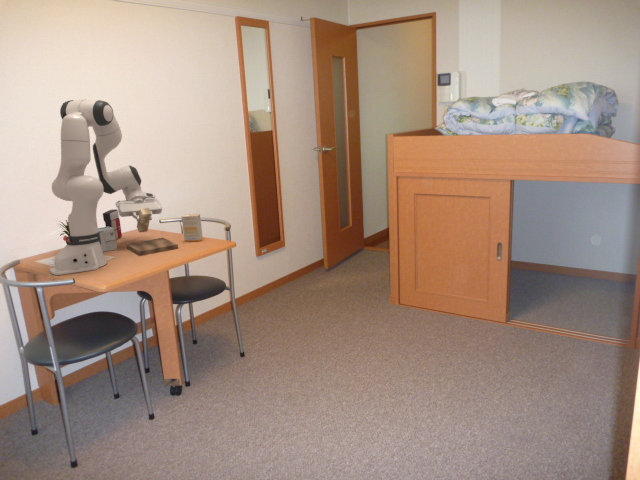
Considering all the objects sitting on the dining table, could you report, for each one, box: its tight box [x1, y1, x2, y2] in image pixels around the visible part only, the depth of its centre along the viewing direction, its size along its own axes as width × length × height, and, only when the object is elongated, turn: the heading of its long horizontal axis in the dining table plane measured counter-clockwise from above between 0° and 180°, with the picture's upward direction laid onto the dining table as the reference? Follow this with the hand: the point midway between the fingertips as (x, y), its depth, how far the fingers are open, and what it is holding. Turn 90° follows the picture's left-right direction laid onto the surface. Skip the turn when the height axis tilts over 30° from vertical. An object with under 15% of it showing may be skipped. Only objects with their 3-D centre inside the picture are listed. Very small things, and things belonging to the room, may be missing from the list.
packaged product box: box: [102, 208, 123, 240], centre depth 281 cm, size 11×4×15 cm, turn 179°
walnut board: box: [126, 237, 179, 257], centre depth 259 cm, size 18×20×2 cm
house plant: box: [58, 219, 70, 237], centre depth 260 cm, size 14×14×16 cm
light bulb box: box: [98, 226, 118, 253], centre depth 259 cm, size 11×7×11 cm, turn 134°
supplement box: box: [181, 213, 204, 243], centre depth 269 cm, size 8×5×13 cm, turn 84°
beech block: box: [136, 208, 151, 233], centre depth 258 cm, size 4×4×12 cm
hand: (144, 219), depth 257 cm, fingers closed on beech block, 4 cm apart
